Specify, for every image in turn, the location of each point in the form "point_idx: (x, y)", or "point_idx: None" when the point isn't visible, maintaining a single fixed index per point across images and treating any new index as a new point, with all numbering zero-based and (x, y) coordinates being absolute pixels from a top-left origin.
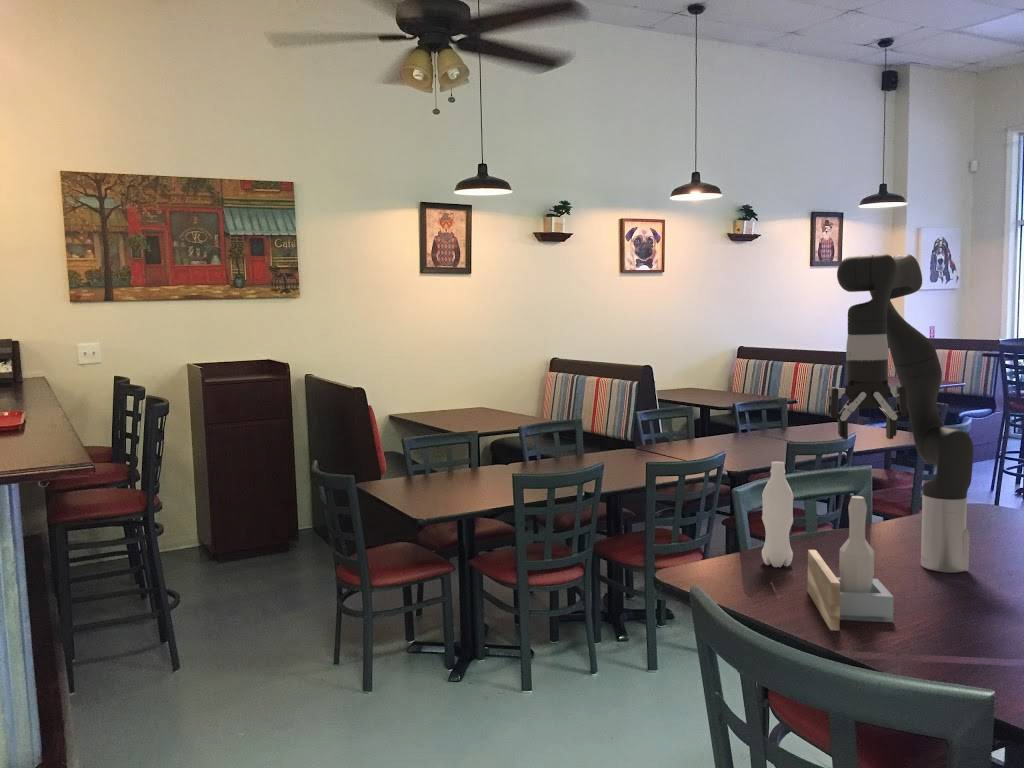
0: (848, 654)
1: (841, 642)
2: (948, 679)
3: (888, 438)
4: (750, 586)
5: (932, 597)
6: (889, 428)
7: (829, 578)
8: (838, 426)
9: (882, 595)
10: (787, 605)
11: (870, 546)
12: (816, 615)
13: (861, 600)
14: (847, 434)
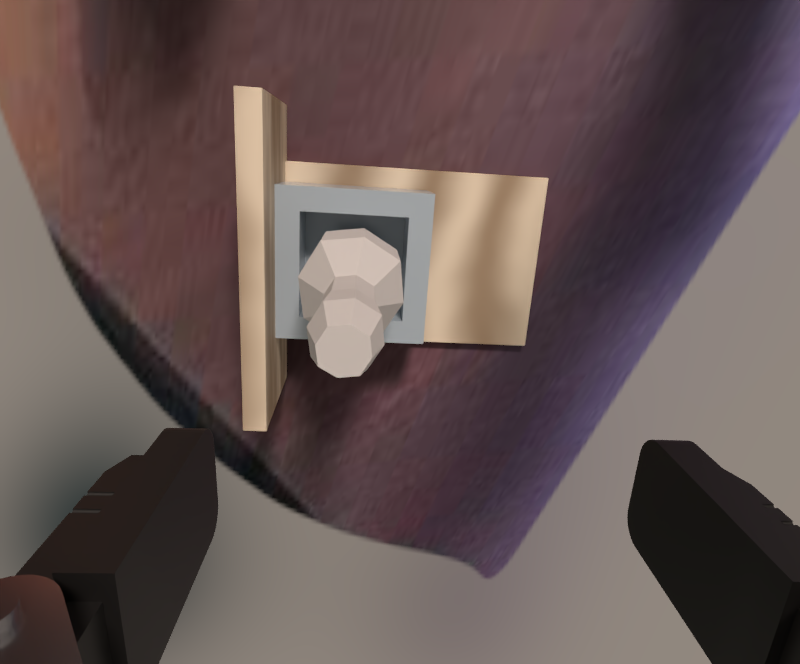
0: (282, 465)
1: (282, 412)
2: (421, 542)
3: (633, 495)
4: (103, 18)
5: (600, 102)
6: (684, 609)
7: (245, 399)
8: (56, 546)
9: (399, 337)
10: (198, 191)
11: (392, 305)
12: None
13: None
14: (197, 564)
